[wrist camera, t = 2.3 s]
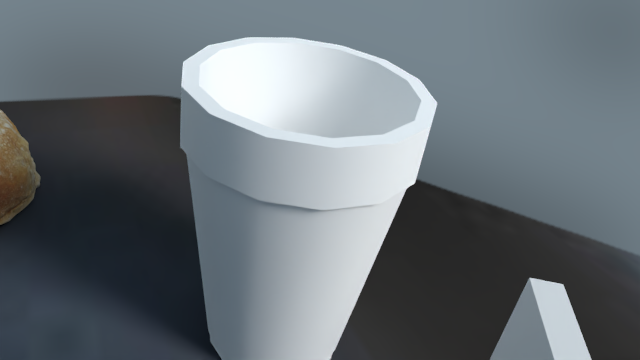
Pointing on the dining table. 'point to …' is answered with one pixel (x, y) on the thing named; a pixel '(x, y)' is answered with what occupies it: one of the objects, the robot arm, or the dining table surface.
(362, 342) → the dining table surface
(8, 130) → the bread roll
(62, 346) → the dining table surface
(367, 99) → the foam cup
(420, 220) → the dining table surface
